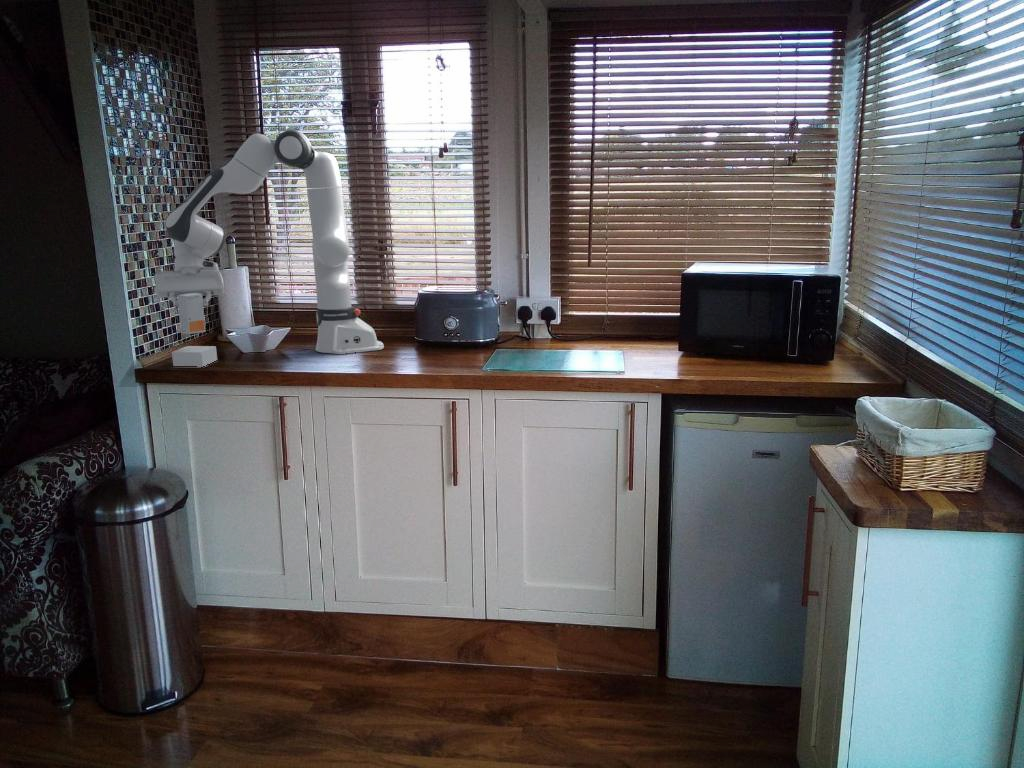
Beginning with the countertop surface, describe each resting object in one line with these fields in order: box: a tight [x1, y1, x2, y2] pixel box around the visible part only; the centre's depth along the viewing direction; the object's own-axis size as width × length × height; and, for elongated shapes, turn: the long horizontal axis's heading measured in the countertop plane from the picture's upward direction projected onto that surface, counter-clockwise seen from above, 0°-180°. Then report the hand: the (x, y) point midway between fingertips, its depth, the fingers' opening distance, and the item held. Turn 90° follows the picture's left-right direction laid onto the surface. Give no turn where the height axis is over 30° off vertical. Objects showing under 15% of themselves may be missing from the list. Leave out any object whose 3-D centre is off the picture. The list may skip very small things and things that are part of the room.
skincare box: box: [177, 293, 206, 335], centre depth 257 cm, size 6×4×12 cm
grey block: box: [171, 345, 218, 368], centre depth 260 cm, size 10×10×5 cm
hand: (191, 305), depth 257 cm, fingers closed on skincare box, 7 cm apart
